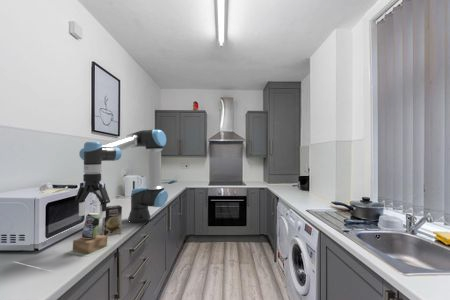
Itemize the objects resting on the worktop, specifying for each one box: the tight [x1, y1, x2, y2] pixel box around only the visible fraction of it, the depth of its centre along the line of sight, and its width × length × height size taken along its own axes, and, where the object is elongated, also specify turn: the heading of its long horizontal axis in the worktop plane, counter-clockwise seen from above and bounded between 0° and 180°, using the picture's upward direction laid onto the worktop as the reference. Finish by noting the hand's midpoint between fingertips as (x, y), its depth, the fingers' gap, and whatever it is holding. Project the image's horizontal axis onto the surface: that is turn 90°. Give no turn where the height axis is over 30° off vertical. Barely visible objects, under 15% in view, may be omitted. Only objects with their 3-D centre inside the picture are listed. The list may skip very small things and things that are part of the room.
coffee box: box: [101, 204, 123, 237], centre depth 127 cm, size 9×6×16 cm
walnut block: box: [72, 233, 108, 254], centre depth 105 cm, size 10×10×5 cm
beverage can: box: [81, 212, 101, 239], centre depth 105 cm, size 6×7×12 cm
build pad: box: [65, 243, 114, 258], centre depth 105 cm, size 14×14×1 cm
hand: (92, 216), depth 106 cm, fingers open, 13 cm apart
